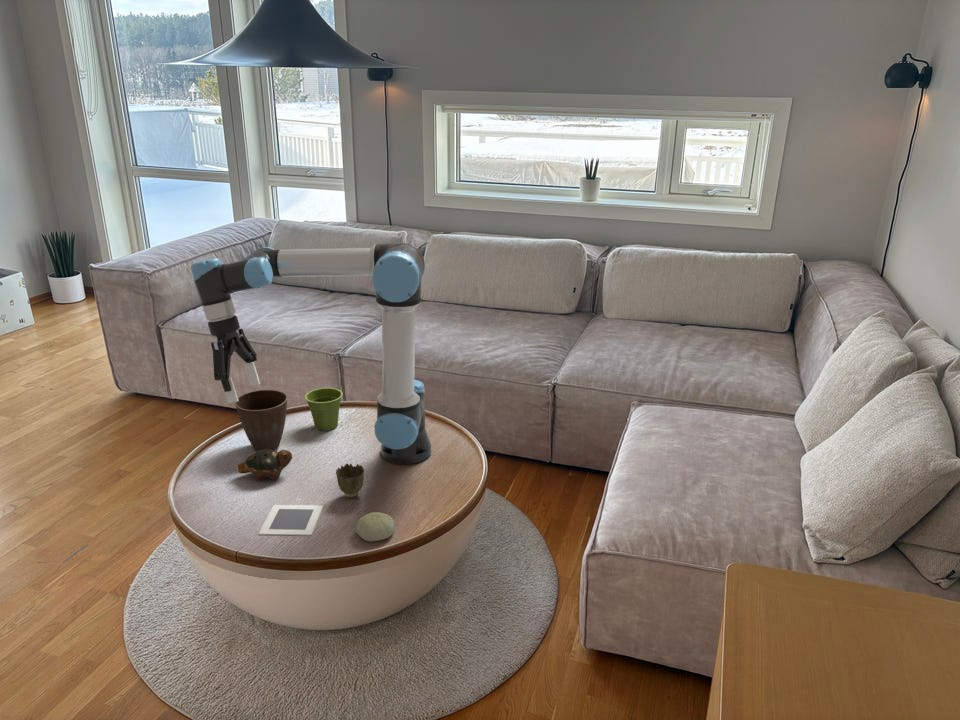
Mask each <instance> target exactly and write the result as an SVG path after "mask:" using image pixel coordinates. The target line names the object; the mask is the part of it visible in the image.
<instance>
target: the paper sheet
mask: <svg viewBox="0 0 960 720" xmlns="http://www.w3.org/2000/svg"><path fill="white" fill-rule="evenodd" d="M323 508H324V505H313V504H312V505H311V504H310V505H305V504H304V505H302V504H301V505H300V504H298V505H297V504H291V505H290V504H273V506H272V508H271V509H270V511H269V513H268V515H267V517H266V519H265V520H264V522H263V524H262V527H261V528H260V530H259V532H258V535H259V536H261V535H264V536H312V535H313V533H314V530H315V528H316V526H317V523H318V521H319V518H320V515H321V513H322V510H323Z"/></svg>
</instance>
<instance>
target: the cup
mask: <svg viewBox="0 0 960 720" xmlns="http://www.w3.org/2000/svg"><path fill="white" fill-rule="evenodd" d="M335 476H336V481H337V484H338V487H339V489H340V491H341V492H343V493H344V497H345V498H347V499H356V498H357V497H358V496H359V492H360V491H361V490H362V488H363V486H364V477H365V467H363V465H362V464H361V465H359V464H358V463H356V466H354V465H353V464H352V463H350V464H349V463H345V464H344V465H340V467H337V468H336V470H335Z"/></svg>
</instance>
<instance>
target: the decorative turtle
mask: <svg viewBox="0 0 960 720" xmlns="http://www.w3.org/2000/svg"><path fill="white" fill-rule="evenodd" d="M292 459H293V453H292V452H291V451H290V450H288V449H281V450H279V451H276V450H270V449H265V450H259V451H253V452H252V453H250V454H249V455H248V456H247V457H246V458H245V460H244V461H242V462H240V463H238V464H237V470H238V472H239V474H248V473H249V474H250V473H251V474H252V475H253V476H254V477H255V479H256V481H258V482H261V481H264V480H265V478H266V477H268V478H270V479H272V480H273V481H278V479H279V478H280V475H281V473H282V471H283V470H284V469H285V468H286V467H287V466H288V465H289V464H290V463H291V461H292Z"/></svg>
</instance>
